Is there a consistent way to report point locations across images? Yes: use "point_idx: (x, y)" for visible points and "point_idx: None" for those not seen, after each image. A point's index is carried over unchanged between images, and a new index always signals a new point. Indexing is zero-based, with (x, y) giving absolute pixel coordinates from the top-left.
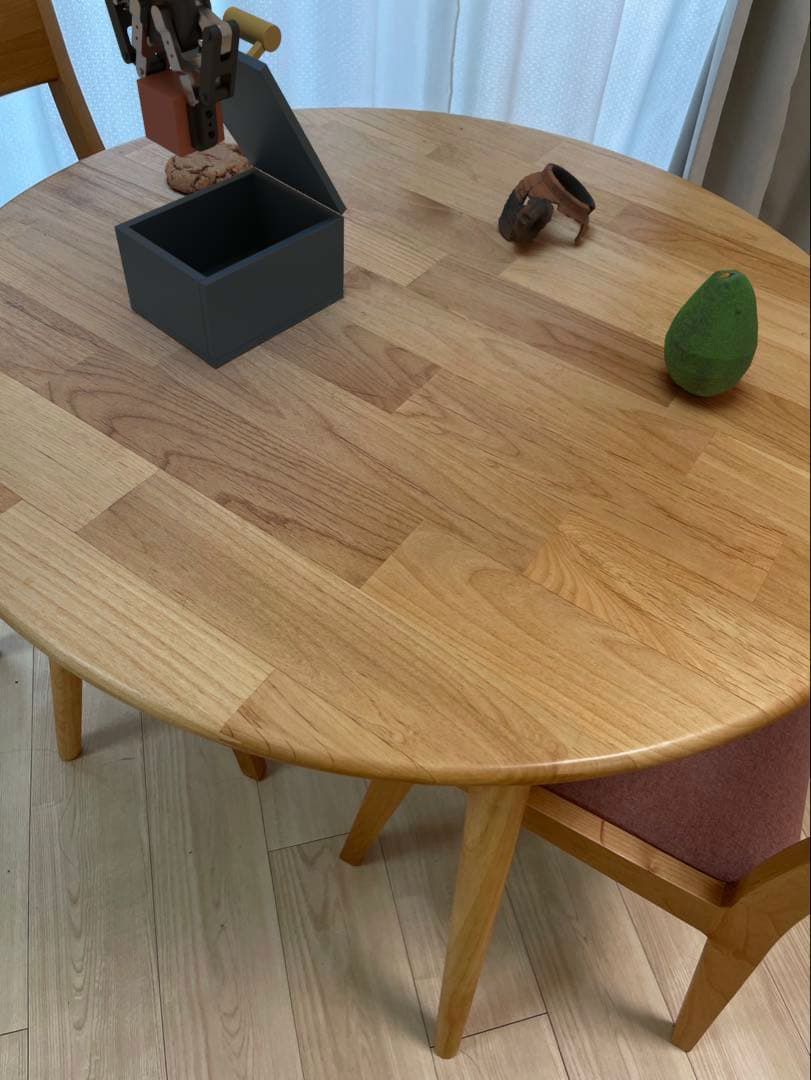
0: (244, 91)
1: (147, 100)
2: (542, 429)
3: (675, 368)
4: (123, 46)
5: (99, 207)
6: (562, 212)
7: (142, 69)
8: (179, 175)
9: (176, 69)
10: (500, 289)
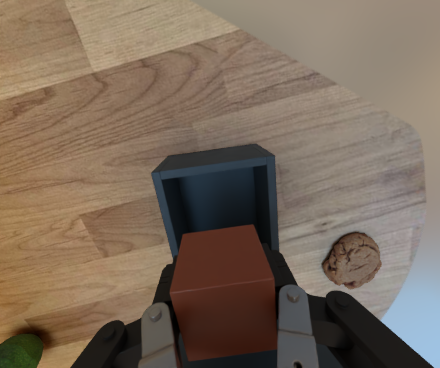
0: (207, 361)
1: (243, 262)
2: (32, 267)
3: (12, 342)
4: (353, 318)
5: (373, 184)
6: None
7: (288, 301)
8: (355, 242)
9: (154, 356)
10: None
